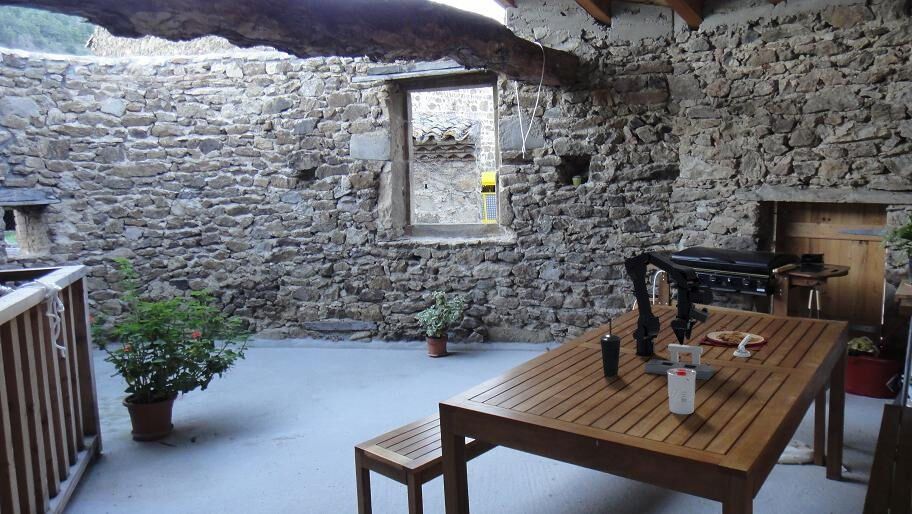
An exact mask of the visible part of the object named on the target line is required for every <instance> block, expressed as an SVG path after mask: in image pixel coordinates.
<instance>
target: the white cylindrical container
mask: <svg viewBox="0 0 912 514" xmlns="http://www.w3.org/2000/svg"><path fill="white" fill-rule="evenodd" d="M667 373H668V375H667V390H668V404H669V405H668V406H669V408H668V409H669V411H670V413H673V414H677V415H691V414H692V413H694V411H695V398H696V397H695V396H696V395H695V393H696V379H695V377H696V372H695V371H693V370H690V369H684V368H674V369H669V370H667Z"/></svg>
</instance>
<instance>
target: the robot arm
mask: <svg viewBox="0 0 912 514" xmlns="http://www.w3.org/2000/svg"><path fill="white" fill-rule="evenodd" d="M649 265H653V267H656V268H657V269H660V270H661V271H663V272H664V273H667V274H668V275H669V276H670V278H671V279H672V280H673V281H674V282H675V284H674V285H673V286H672V287H671V288H672V289H675V290H677V291H676V292H677V293H676V295H677V296H676V297H677V298H676V304H675V308H676V315H675V318H673V319H672V320H671V321H670V323H669V324H670V325H669V328H671V330H672V331H673V333H674V335H675V336H676V339H677V341H678V343H679V345H685V344H684V342H685V339H686V341H689V340H691V336H692V332H693V329H694V326H695V325H696V324H697V323H698V322H700V323H702V324H706V323H707V322H708V320H709V318H710V316H711V314H710V312H709V308H708V307H707V308H706V307H703V308H702V309H700V308H697V307H696V304H697V305H705V306H710V305H711V304H712V302H713V300H714V295H713V292H712V290H711V289H710V286H708V285H705V286H704V285H703V283H702V282H701V280H700V277H698V275H697V273H696V270H695V269H694V267H690V266H688V265H681V264H678V263H676V262H673V261H672V260H669V259H668V258H666V257H664V256H662V255H661V254H658V253H657V252H656V251H654V250H650V251H644V252H643V253H641V254H638V255H635V256H633V257H628V258H626V259H625V262H624V268H625V271H626V273H627V276H629V278H630V279H631V281H632V286H633V289H634V295H635V299H636V304H637V309H638V314H639V315H638V317H637V321H636V322H637V329H636V330H634V332H633V333H632V337H633V340H636V347H635V348H636V352H635V353H634V354H635V355H640V356H647V357H651V356H652V355H654V354H655V353H656V342H655V339H657V338H658V335H659V333H660V331H661V326H662V325H661V322H660V317H659V316H657V315H655V314H654V313H653V309H652V305H651V301H650V297H649V291H648V287H647V282H646V275H647V273H648V266H649Z"/></svg>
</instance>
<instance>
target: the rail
mask: <svg viewBox="0 0 912 514" xmlns="http://www.w3.org/2000/svg"><path fill="white" fill-rule="evenodd" d="M674 368H684V369H690V370H693V371H695V372H696V377H695V380H702V381H709V380H710V379H711V378H712V376H714V366H713V365H709V364H708V365H706V364H700V365H699V364H692V363H691V362H690V363H688V362H672V361H670V360H661V359H655V358H654V359H653V358H652V359H650V360H648V361H647V362H646V363H645V364H644V372H645V374H657V375H662V376H663V375H664V376H668V373H667V370H669V369H674Z"/></svg>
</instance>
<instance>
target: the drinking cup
mask: <svg viewBox="0 0 912 514" xmlns="http://www.w3.org/2000/svg"><path fill="white" fill-rule="evenodd" d="M608 325H609V333H606V334H604V335H602V336H599V340H600V347H601V349H600V350H601V357H602V367H603V374H604V376H607V377H616V376H618V374H619V364H620V351H621V350H620V349H621V342H622V337H621V336H619V335H618V334H614V333H612V320H611V319H609V324H608Z"/></svg>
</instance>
